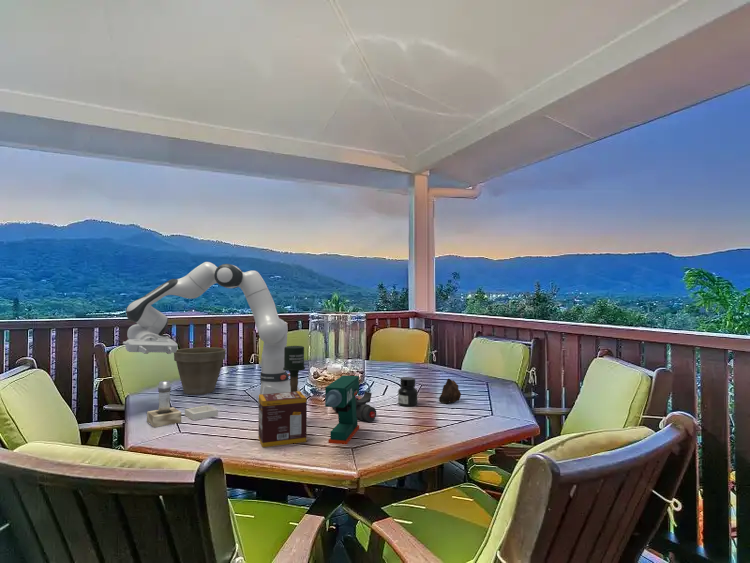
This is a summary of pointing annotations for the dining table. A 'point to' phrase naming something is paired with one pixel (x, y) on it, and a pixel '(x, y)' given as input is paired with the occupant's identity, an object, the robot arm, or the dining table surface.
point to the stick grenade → (294, 363)
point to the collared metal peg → (164, 397)
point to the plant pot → (199, 368)
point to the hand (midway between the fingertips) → (158, 352)
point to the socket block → (163, 417)
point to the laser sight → (364, 408)
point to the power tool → (343, 407)
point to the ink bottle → (407, 392)
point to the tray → (201, 412)
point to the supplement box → (282, 418)
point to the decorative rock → (450, 392)
